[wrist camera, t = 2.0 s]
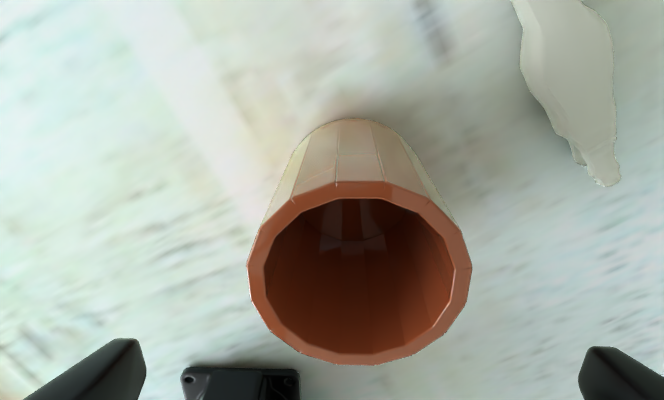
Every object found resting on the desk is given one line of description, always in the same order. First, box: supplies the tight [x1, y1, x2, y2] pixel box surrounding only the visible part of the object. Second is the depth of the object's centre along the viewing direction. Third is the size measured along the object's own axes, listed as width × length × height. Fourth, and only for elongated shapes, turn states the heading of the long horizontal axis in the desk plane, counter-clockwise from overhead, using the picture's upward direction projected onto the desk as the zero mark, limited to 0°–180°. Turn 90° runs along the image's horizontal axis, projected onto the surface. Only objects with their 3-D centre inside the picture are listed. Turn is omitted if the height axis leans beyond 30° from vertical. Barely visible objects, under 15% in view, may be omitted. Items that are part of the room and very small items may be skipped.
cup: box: [246, 118, 472, 366], centre depth 13 cm, size 6×6×7 cm
